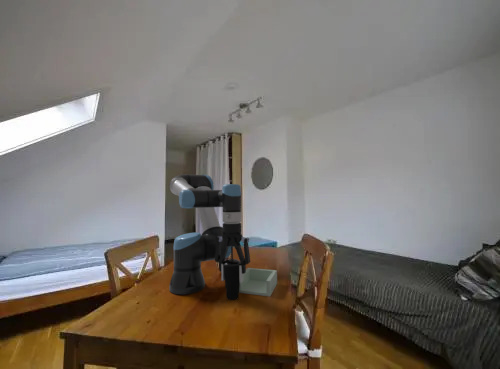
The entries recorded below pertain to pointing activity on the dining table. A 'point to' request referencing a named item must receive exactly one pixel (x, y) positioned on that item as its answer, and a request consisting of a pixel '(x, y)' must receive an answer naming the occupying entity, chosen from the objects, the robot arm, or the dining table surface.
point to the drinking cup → (232, 277)
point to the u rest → (258, 282)
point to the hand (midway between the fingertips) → (232, 280)
